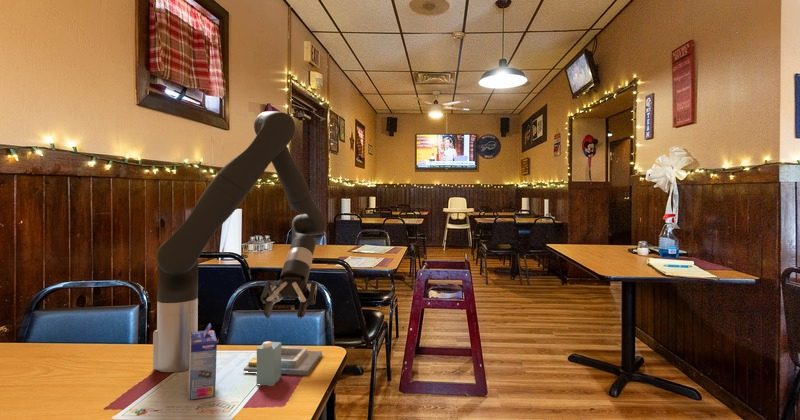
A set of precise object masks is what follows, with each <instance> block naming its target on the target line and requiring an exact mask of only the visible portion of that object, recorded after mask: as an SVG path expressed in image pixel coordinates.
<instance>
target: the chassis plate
mask: <svg viewBox="0 0 800 420" xmlns="http://www.w3.org/2000/svg"><path fill="white" fill-rule="evenodd" d="M322 356H323V350H309V349H308V347H295V346H292V347H291V346H281V374H287V376H306V377H307V376H308V375H309V374H310V373H311V371H312V370H313V368H314V367H315V366H316V364H317V363H318V362H319V360H320V358H322ZM247 363H248V364H247V365H246V366H245V367H243V372H244V371H248V372H257V357H253V358H252V359H251V360H249V361H248V362H247Z"/></svg>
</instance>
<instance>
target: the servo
mask: <svg viewBox="0 0 800 420" xmlns="http://www.w3.org/2000/svg"><path fill="white" fill-rule="evenodd" d="M281 347H282V341H281V342H280V341H268V340H267V341H264V342H263V343H262V344H261V345H259V346H258V347H257V348H256V358H257V374H256V385H257V384H260V385H268V386H267V387H275V385H276V384H277V383H278V382H279V380H280V379H281V378H282V375H281ZM280 377H281V378H280ZM279 378H280V379H279ZM276 382H277V383H276ZM275 383H276V384H275Z"/></svg>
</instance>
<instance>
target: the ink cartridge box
mask: <svg viewBox="0 0 800 420" xmlns="http://www.w3.org/2000/svg"><path fill="white" fill-rule="evenodd" d="M217 340H218V339H217V337H216V332H215V330H213V329H212V324H211V322H210V323H208V324H207V325H206V327H205V330H198V331H197V332H191V334H190V359H189V369H188V384H187V385H188V400H189V401H191V400H198V399H205V398H206V399H207V398H213V397H216V387H217V386H216V383H217V379H216V378H217V347H218V346H217V344H218V341H217Z"/></svg>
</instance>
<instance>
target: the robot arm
mask: <svg viewBox="0 0 800 420" xmlns="http://www.w3.org/2000/svg"><path fill="white" fill-rule="evenodd" d="M253 128H254V132H255V135H256V136H255V137H254V139H253V140H252V142H251V143H250V144H249V145H248V146H247V147H246V149H244V150H243V151H242V152H240V153H239V154H238V155H236V156H235V157H234V158H233V159H232V160H230V161H229V162H227V163H226V164H225V165H224V166H223V167H222V168H221V169H220V170H219V171H218V172H217V174H216V175H215V176H214V177H213V179H211V180H212V181H211V182H210V183H209V184H208V185H207V187H205V189H204V192H202V194H201V196H200V197H199V199H198V201H197V202H196V204H195V205H194V207H193V209H192V211H191V213H190V214H189V215H188V217H187V218H186V219H185V220H184V222H183V223H182V224H181V225H180V226H179V227H178V228H177V230H176V231H175V232H174V233H173V234H172V235H170V237H169V238H168V239H166V240H165V241H164V242H162V244H161V245H160V246H159V247H158V249H157V252H156V262H157V264H158V281H157V292H156V293H157V296H156V299H157V303H156V304H157V305H156V307H157V308H156V310H157V311H156V312H157V317H156V322H157V323H156V330H154V331H153V334H152V339H153V340H152V345H153V346H152V347H153V348H152V369H153V370H157V371H159V372H161V373H175V372H183V371H186V370H189V359H190V334H191V332H197V331H199V330H198V323H199V322H198V321H199V320H198V318H199V315H198V313H199V311H198V310H199V309H198V305H199V299H198V297H199V295H198V294H199V292H198V291H199V258H200V256H201V254H202V252H203V251H204V249H205V247H206V246H207V244H208V243H209V241H210V239H211V238H212V237H213V236H214V234H215V233H216V232H217V231H218V230H219V229H220V228H221V226H222V225H223V224H224V223H225V222H226V221H227V220H228V219H229V218H231V216H232V214H233V213H234V212H235V211H236V209H238V207H239V206H240V205H241V203H242V202H243V201H244V200H245V198H246V197H247V196H248V194H249V193H250V192H251V190H252V188H253V187H254V186H255V184H256V183H257V182H258V180H259V179H260V178H261V176H262V175H263V174H264V172H265V171H266V169H267V168H268V167H269V166H270V164H271V163H272V166H273V169H274V170H275V172H276V174H277V177H278V179H279V180H280V184H281V187H282V188H283V191H284V194H285V196H286V199H287V202H288V205H289V207H290V209H291V210H293V211H296V212H302V213H301V214H298V215H296V216H295V217H293V219H292V221H291V231H292V232H291V243H290V247H289V249H288V252H287V255H286V257H285V260H284V262H283V267H282V269H281V273H280V277H279V280H278V281H277V282H272V281H271V280H267V281H266V284H265V285H264V287H263V290H262V293H261V295H260V300H261V302H262V304H263V305H265V306H264V309H263V314H264V317H265V318H266V319H270V318H271V315H272V311H273V308H274V305H275V304H276V303H278V302H281V301H282V300H283V299H284V300H288V299H291V300H296V299H297V298H298V300H299V302H300V303H299V305H298V310H297V314H296V316H297V318H298V319H297V320H302V318H305V315H306V310H307V307H308V306H310V305H311V306H314V305H315V304H316V299H317V292H318V286H317V283H316V281H312V282H311V283H308V280H309V276H310V272H311V269H312V266H313V265H312V264H313V257H314V252H315V249H316V239H315V238H314V237H313V236H316V235H322V234H323V233H324V232H325V231H326V229H327V226H328V225H327V224H328V223H327V220H326V216H325V215H324V213H323V212H322V211H321V209H320V208H319V207H318V205H317V204H316V202H315V200H314V199H313V197H312V194H311V192H310V188H309V185H308V183H307V181H306V178H305V176H304V175H303V172H302V171H301V169H299V166H298V165H297V163H296V162H295V160H294V158H293V156H292V154H291V152H290V150H289V147H288V144H289V143H290V142H291V141H292V140H293V138H294V135H295V133H296V123H295V120H294V118H293V117H292V116H291V115H289V114H288V113H286V112H284V111H275V110H274V111H272V110H271V111H269V110H268V111H267V110H266V111H263V112H261V113H260V114H258V115H257V116H256V118H255V120H254V122H253ZM307 289H308V291H309V293H308V298H306V297H305V295H304V294H303V293H304V292H305V291H306V290H307Z"/></svg>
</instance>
